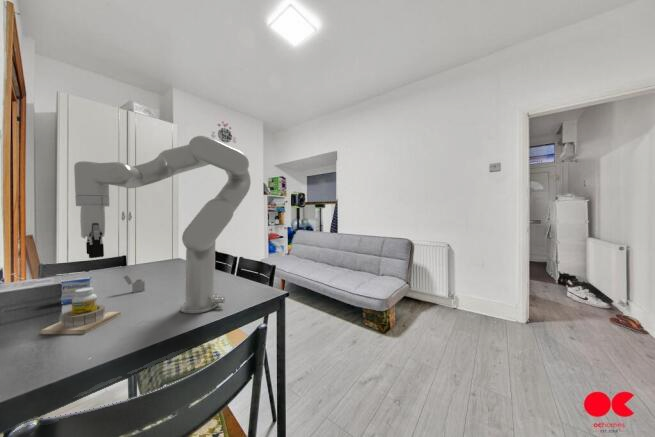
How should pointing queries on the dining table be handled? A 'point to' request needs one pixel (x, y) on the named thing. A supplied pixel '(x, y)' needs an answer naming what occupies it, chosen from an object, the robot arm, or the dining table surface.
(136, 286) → the lighter
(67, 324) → the collar block
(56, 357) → the dining table surface
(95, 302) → the supplement bottle
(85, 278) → the medicine box
